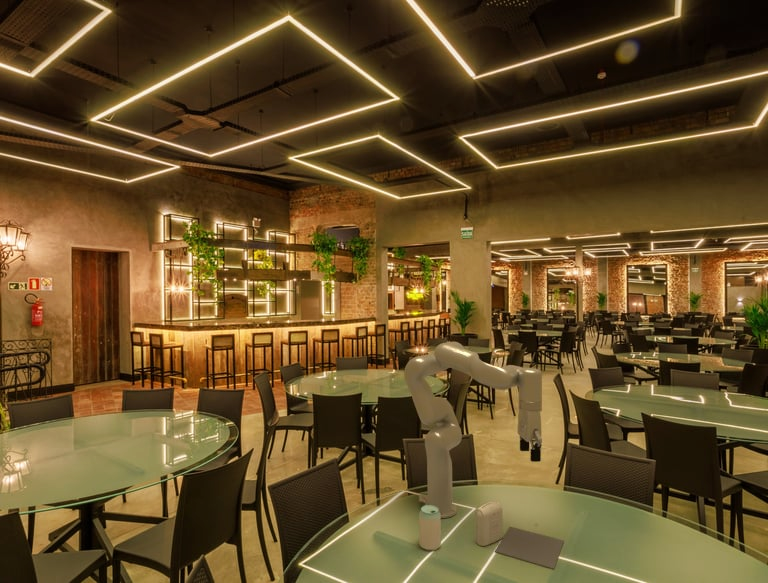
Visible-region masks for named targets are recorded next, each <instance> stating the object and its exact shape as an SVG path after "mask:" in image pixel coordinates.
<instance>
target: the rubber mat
mask: <svg viewBox="0 0 768 583" xmlns="http://www.w3.org/2000/svg"><path fill="white" fill-rule="evenodd" d="M564 542H565V540H563V539H559V538H556V537H552V536H547V535H545V534H544V535H543V534H540V533H536V532H532V531H529V530H526V529H521V528H518V527H513V526H509V527H508V529H507V530H506V532H505V534H504V535H503V537H502V539H500V542H499V543H498V545H497V547H496V548H495V550H494V553H495V554H498V555H503V556H506V557H509V558H512V559H516V560H519V561H523V562H527V563H530V564H534V565H535V566H540V567H542V568H545V569H550V570H555V569H556V566H557V562H558V560H559V557H560V554H561V552H562V549H561V548H563V545H564ZM560 551H561V552H560Z"/></svg>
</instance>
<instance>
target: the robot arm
mask: <svg viewBox="0 0 768 583" xmlns="http://www.w3.org/2000/svg"><path fill="white" fill-rule="evenodd" d="M449 368H451V369H453V370H456V371H458V372H461V373H463V374H466V375H468V376H470V378H472V379H473V380H474V381H476V382H478V383H480V384H482V385H484V386H487V387H490V388H492V389H495V390H499V391H505V390H509V389H511V388H515V387H518V417H517V434H518V436H519V451H520V452H529V451H530V459H529V460H530V462H533V463H534V462H538V463H540V462H541V460H542V459H541V458H542V456H541V454H542V452H541V451H542V446H543V445H542V442H543V438H542V416H541V413H542V410H543V374H542V371H541V370H540V369H538V368H535V367H534V368H533V367H522V366H518V365H513V364H507V365H505V366H504V365H503V366H501V367H499V366H496V365H492V364H490V363H487V362H484V361H482V360H481V359H480V356H479V354H478V353H477V352H475V351H472V350H469V349H466V348H464V346H463V344H461V343H459V342H458V341H449V342H442V343H440V344H438V345H437V346H436V347H435V348H434V351H433V352H432V353H428V354H424V355H423V354H422V355H418V356H414V357H413V358H412V359H410V360H409V361H408V362H407V364H406V365H405V368H404V372H403V376H404V381H405V384H406V386H407V388H408V390H409V392H410V395H411V397H412V401H413V405H414V407H415V409H416V412H417V415H418V417H419V420H420V422H421V424H423V425H424V426H426V427H428V426H429V427H430V426H434V425H436V427H434V428H433V429H430V431H428V433H426V435H425V438H424V448H425V452H426V453H425V454H426V463H427V465H426V467H427V470H426V473H427V495H425V494H422V493H419V495H418V502H420V503H423V506H426V505H433V506H436V507H437V508H438V509H439V510H438V511H439V512H440V514H441V519H447V518H452V517H454V516H456V514H457V506H456V505H455V504H454V503H453V465H452V464H453V462H452V458H451V454H450V450H452V449H454V448H455V447H457V446H458V445H459V444H460V443H461V441H462V438H463V434H462V430H461V427H460V425H459V424H460V423H458V422H459V421H458V419H457V417H456V415H455V411H454V409H453V407H452V404H451V403H450V402H449V400H448V399H446V398H444V397H441V396H437V397H435V394H434V392H433V389H432V387H431V386H430V384H429V383H428V381H427V380H426V377H429V376H435V375H437V374H440V373H442V372H443V371H446V370H448V369H449ZM530 446H531V448H530Z"/></svg>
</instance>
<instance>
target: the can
mask: <svg viewBox="0 0 768 583" xmlns="http://www.w3.org/2000/svg"><path fill="white" fill-rule="evenodd" d="M438 510H439V509H438V508H437V507H436V506H433V505H426V506H424V505H423V506H422V507H421V508H420V511H419V513H418V522H419V524H418V528H419V529H418V532H419V535H418V539H419V541H418V542H419V546H420V547H421V548H423V549H424V550H426V551H435V550H437V549H439V548H440V547H441V545H442V541H441V540H442V538H441V537H442V534H441V533H442V532H441V528H442V526H441V525H442V522H441V519H442V518H441V514H440V512H439V511H438Z"/></svg>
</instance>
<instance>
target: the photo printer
mask: <svg viewBox="0 0 768 583" xmlns="http://www.w3.org/2000/svg"><path fill="white" fill-rule="evenodd" d="M503 532H504V531H503V508H502V504H501V503H499V502H498V501H488V502H486V503H484V504H482V505H481V506H479V507H478V508H477V509H476V510H475V541H476V544H477V545H478V546H481V547H485V546H489V545H491V544H494V543H495V542H498V541H501V540H502V538H503V537H504V535H503Z"/></svg>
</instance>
